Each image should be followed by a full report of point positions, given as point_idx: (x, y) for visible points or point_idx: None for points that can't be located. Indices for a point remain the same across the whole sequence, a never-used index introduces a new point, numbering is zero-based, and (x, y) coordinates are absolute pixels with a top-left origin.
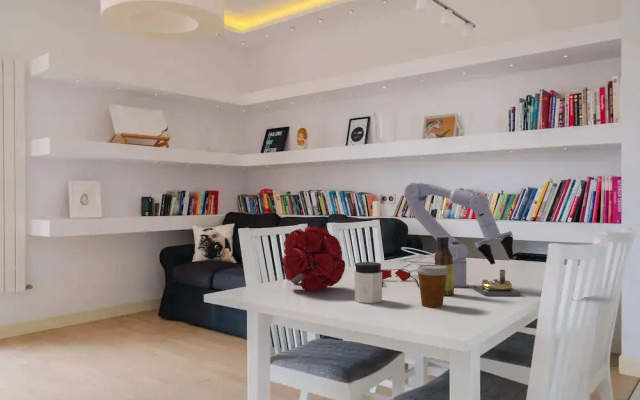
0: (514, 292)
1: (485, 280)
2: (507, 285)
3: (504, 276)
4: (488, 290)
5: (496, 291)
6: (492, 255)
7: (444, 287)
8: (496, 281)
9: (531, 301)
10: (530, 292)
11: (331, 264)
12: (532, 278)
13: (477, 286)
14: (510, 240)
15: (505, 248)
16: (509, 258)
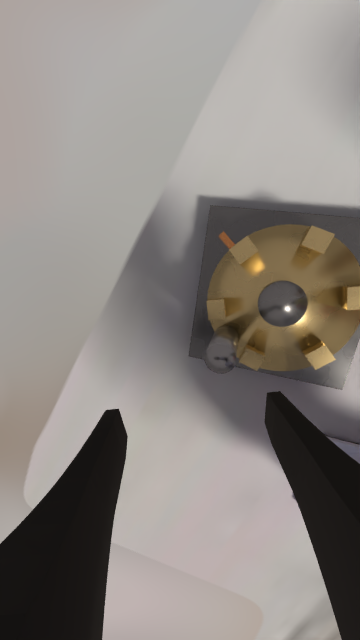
0: (238, 208)
1: (325, 345)
2: (254, 241)
3: (218, 334)
4: (353, 253)
5: (326, 221)
6: (303, 440)
7: None
8: (285, 300)
9: (230, 78)
10: (134, 284)
11: None
12: (25, 496)
13: (342, 363)
14: (8, 572)
15: (106, 531)
16: (126, 434)
